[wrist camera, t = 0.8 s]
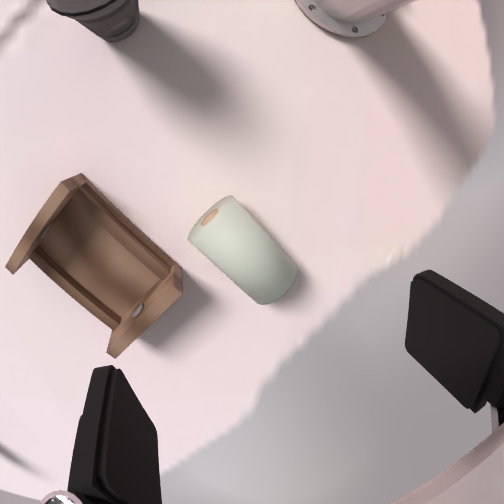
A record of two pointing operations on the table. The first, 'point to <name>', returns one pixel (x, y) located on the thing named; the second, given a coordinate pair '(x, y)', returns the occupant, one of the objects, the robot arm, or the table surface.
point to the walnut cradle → (100, 260)
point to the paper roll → (244, 251)
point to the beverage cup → (101, 16)
